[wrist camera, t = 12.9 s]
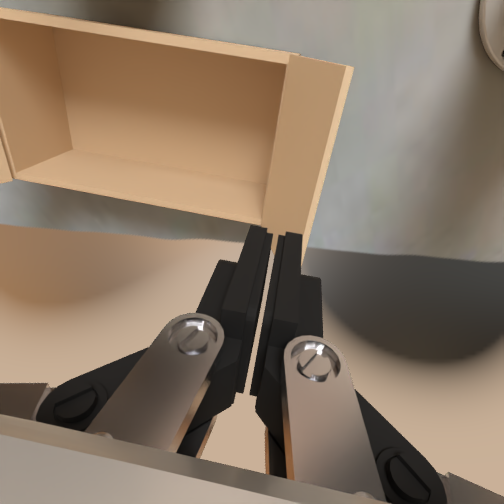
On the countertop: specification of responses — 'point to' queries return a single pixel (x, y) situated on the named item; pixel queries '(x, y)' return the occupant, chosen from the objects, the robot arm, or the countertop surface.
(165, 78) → the carton
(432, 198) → the countertop surface
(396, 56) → the countertop surface
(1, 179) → the far flap
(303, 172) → the near flap
